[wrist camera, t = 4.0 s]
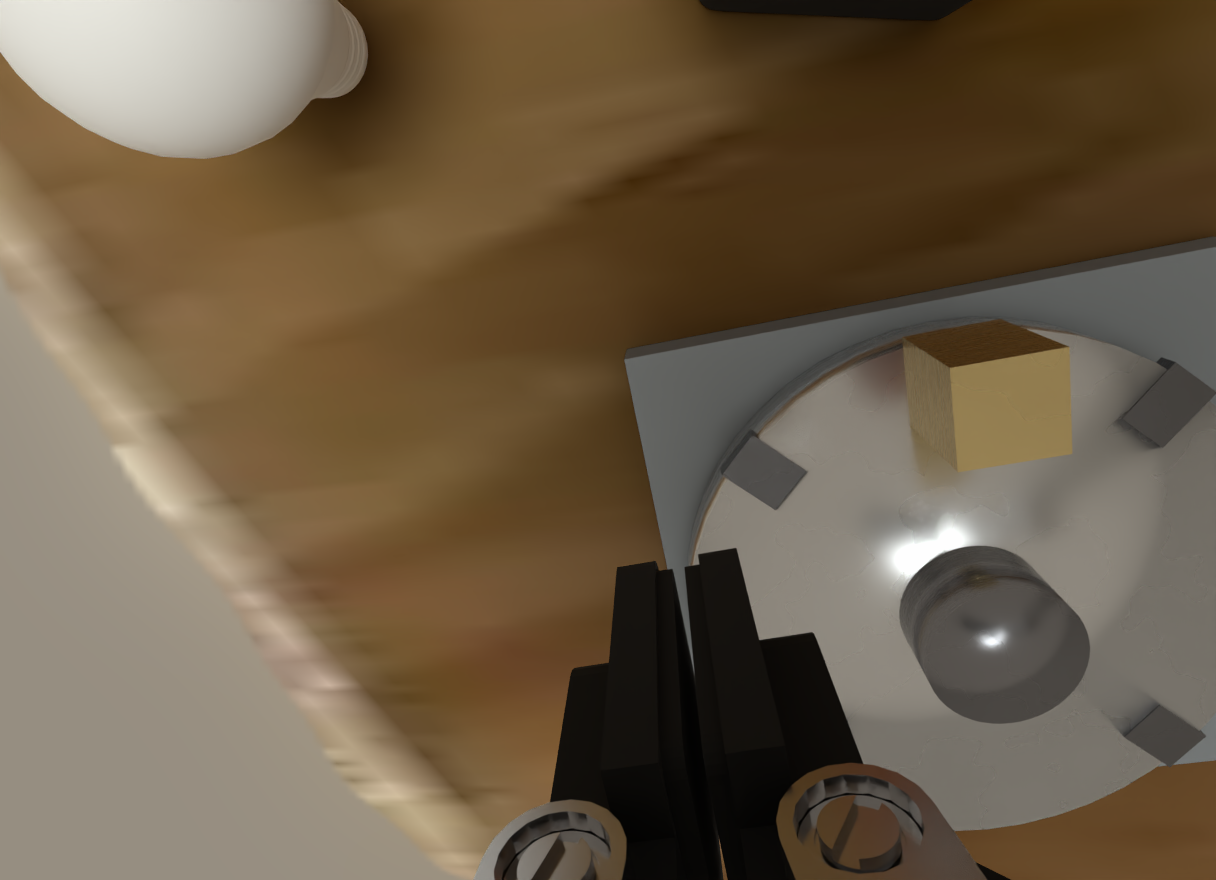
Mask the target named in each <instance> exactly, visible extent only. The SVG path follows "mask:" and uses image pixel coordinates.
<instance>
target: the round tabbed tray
mask: <svg viewBox="0 0 1216 880" xmlns="http://www.w3.org/2000/svg"><path fill="white" fill-rule="evenodd" d="M1215 395H1216V391H1215V390H1213V389H1212V388H1210V387H1209V386H1208V385H1206V384H1205V383H1204V382H1202V381H1201V380H1200V379H1198V378H1197V377H1195V376H1194V375H1193V374H1191V373H1190V372H1189V371H1187V370H1186V369H1185V368H1183V367H1182V366H1180V365H1179V364H1178V363H1176V362H1174V361H1171V360H1168V359H1165V358H1163V357H1161V358H1160V359H1159V360H1158V361H1157V362H1153V361H1151V360H1149V359H1146V358H1144V357H1142V356H1139V355H1137V354H1135V353H1132V352H1130V351H1128V350H1125V349H1123V348H1121V347H1118V346H1115V345H1113V344H1110V343H1107V342H1104V341H1101V340H1099V339H1096V338H1093V337H1090V336H1087V335H1085V334H1082V333H1079V332H1076V331H1072V330H1068V329H1064V328H1061V327H1057V326H1053V325H1050V324H1046V323H1042V322H1035V321H1027V320H1019V319H1012V318H998V317H965V318H957V319H949V320H941V321H932V322H925V323H921V324H917V325H913V326H909V327H905V328H901V329H897V330H893V331H889V332H886V333H884V334H881V335H878V336H876V337H873V338H871V339H868V340H865V341H863V342H860V343H857V344H855V345H852V346H850V347H848V348H846V349H844V350H843V351H841V352H839V353H837V354H835V355H833V356H831V357H829V358H827V359H825V360H824V361H822V362H820V363H818V364H816V365H815V366H813V367H812V368H811V369H809V370H808V371H806V372H805V373H803V374H802V375H801V376H799V377H798V378H796V379H795V380H793V381H792V382H790V383H789V384H788V385H786V386H785V387H784V388H783V389H782V390H781V391H780V392H778V393H777V394H776V395H775V396H774V397H773V398H772V399H771V400H769V401H768V402H767V403H766V404H765V405H764V406H763V407H762V408H761V409H759V411H758V412H757V413H756V414H755V415H754V416H753V417H752V419H751V420H750V421H749V422H748V423H747V424H746V426H745V427H744V428H743V429H742V430H741V431H740V432H739V434H738V435H737V436H736V437H735V439H734V440H733V442H732V443H731V445H730V446H729V448H728V449H727V451H726V452H725V454H724V455H723V457H722V458H721V460H720V461H719V463H718V465H717V467H716V469H715V471H714V473H713V475H712V477H711V479H710V481H709V483H708V485H707V487H706V489H705V491H704V493H703V496H702V499H701V502H700V506H699V509H698V512H697V515H696V518H695V521H694V524H693V530H692V536H691V542H690V548H689V553H688V566H692V565H698V564H699V559H698V554H702V553H708V552H714V551H720V550H726V549H732V548H737V552H738V556H739V560H740V564H741V568H742V572H743V576H744V580H745V584H746V588H747V592H748V596H749V600H750V605H751V609H752V613H753V617H754V621H755V625H756V629H757V633H758V637H759V640H763V639H770V638H776V637H783V636H790V635H796V634H803V633H809V632H813V633H814V635H815V637H816V639H817V641H818V644H819V647H820V649H821V652H822V655H823V657H824V660H825V663H826V665H827V668H828V671H829V673H830V676H831V679H832V681H833V684H834V687H835V689H836V692H837V695H838V697H839V700H840V703H841V705H842V708H843V711H844V713H845V716H846V719H847V721H848V724H849V727H850V729H851V732H852V735H853V737H854V740H855V743H856V745H857V748H858V751H859V753H860V756H861V759H862V761H863V764H869V765H876V766H879V767H882V768H885V769H888V770H891V771H894V772H897V773H899V774H901V775H902V776H904V777H906V778H907V779H909V780H911V781H912V782H914V783H916V784H917V785H918V786H919V787H920V788H921V789H922V790H923V791H924V792H925V793H926V794H927V795H928V796H929V797H930V798H931V799H932V800H933V802H934V803H935V805H936V806H937V807H938V809H939V810H940V812H941V813H942V815H943V816H944V818H945V819H946V821H947V822H948V823H949V825H950V826H951V828H952V829H953V831H962V830H982V829H992V828H999V827H1006V826H1012V825H1019V824H1024V823H1028V822H1032V821H1036V820H1040V819H1044V818H1048V817H1052V816H1056V815H1059V814H1062V813H1065V812H1067V811H1070V810H1073V809H1076V808H1079V807H1081V806H1084V805H1087V804H1090V803H1092V802H1094V801H1096V800H1098V799H1100V798H1103V797H1105V796H1107V795H1109V794H1111V793H1113V792H1115V791H1117V790H1119V789H1121V788H1123V787H1125V786H1127V785H1128V784H1130V783H1132V782H1133V781H1135V780H1136V779H1138V778H1140V777H1141V776H1143V775H1145V774H1146V773H1148V772H1150V771H1151V770H1153V769H1154V768H1156V767H1157V766H1158V765H1160V764H1161V763H1162V762H1163V763H1164V764H1166V765H1167V766H1169V767H1171V766H1172V765H1173V764H1174V763H1175V762H1177V761H1178V760H1179V759H1180V758H1181V757H1183V756H1184V755H1185V754H1186V753H1187V752H1188V751H1190V750H1191V749H1192V748H1193V747H1194V746H1195V745H1197V744H1198V743H1199V742H1200V741H1201V740H1203V739H1204V738H1205V737H1206V735H1205V734H1204V733H1203V732H1202V731H1201V729H1202V728H1203V727H1204V726H1205V725H1206V724H1207V723H1208V722H1209V721H1210V719H1211V718H1212V717H1213V716H1214V715H1215V713H1216V406H1215V405H1214V404H1213V403H1212V402H1211V401H1210V400H1211V399H1212V398H1213V397H1214V396H1215Z"/></svg>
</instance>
